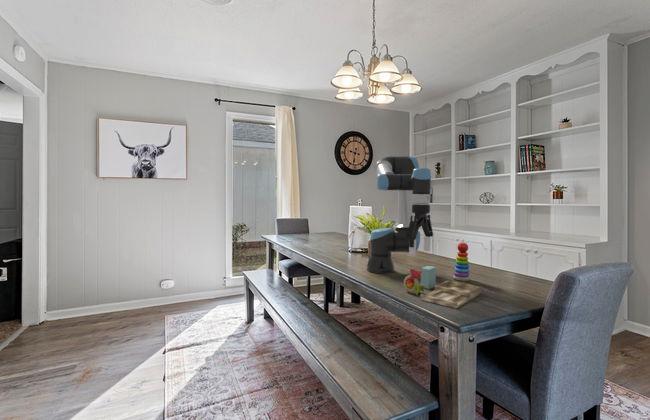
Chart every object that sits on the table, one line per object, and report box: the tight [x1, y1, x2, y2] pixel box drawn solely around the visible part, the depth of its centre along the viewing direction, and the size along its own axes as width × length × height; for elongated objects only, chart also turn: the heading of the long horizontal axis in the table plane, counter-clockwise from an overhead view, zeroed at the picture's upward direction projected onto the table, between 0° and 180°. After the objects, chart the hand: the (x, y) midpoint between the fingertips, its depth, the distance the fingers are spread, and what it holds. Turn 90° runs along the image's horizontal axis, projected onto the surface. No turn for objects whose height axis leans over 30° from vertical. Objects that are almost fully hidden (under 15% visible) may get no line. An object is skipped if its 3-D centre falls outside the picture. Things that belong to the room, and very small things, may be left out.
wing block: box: [420, 265, 437, 290], centre depth 160 cm, size 4×7×9 cm, turn 137°
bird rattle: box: [403, 268, 426, 296], centre depth 150 cm, size 6×11×9 cm
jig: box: [419, 280, 482, 309], centre depth 145 cm, size 15×26×3 cm, turn 137°
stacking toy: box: [452, 242, 471, 282], centre depth 173 cm, size 8×8×19 cm
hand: (419, 252), depth 150 cm, fingers open, 13 cm apart
